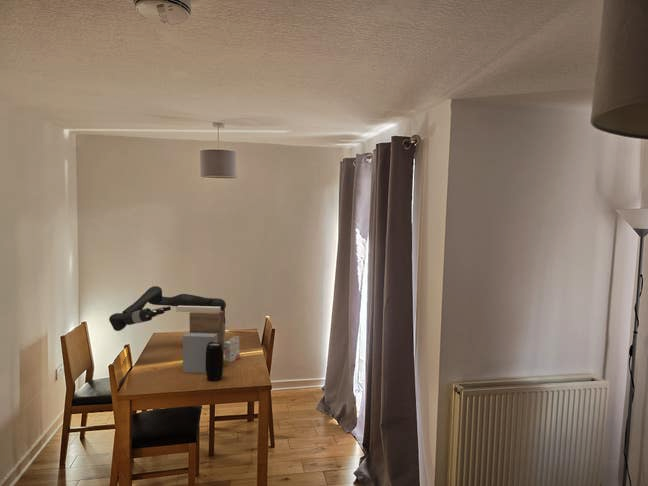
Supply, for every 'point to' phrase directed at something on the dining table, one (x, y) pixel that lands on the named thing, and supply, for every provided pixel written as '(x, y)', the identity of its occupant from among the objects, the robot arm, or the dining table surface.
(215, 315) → the walnut pedestal
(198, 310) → the cream bar
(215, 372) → the portable speaker
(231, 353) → the ink cartridge box
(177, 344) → the dining table surface
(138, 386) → the dining table surface
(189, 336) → the grey stand
